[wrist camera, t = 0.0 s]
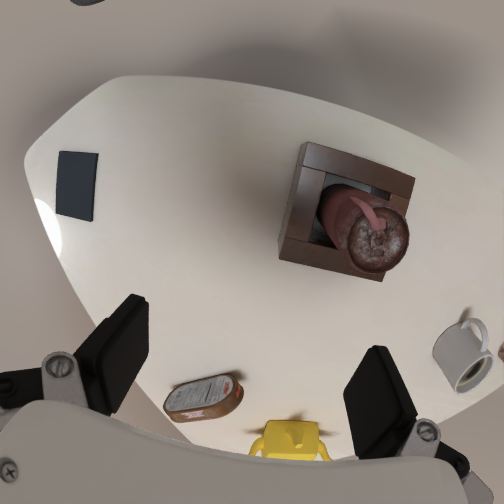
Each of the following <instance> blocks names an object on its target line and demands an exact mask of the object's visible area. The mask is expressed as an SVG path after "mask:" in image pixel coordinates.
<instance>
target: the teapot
mask: <svg viewBox="0 0 504 504" xmlns="http://www.w3.org/2000/svg"><path fill="white" fill-rule="evenodd" d="M259 450H261V453H262V457H267V458H277V459H289V460H308V461H314V459H315V458H316V456H317V452H318V453H319V454H320V455H321V457H322V459H323V460H324V461H334V460H332V459H331V458H330V457H329V455H328V452H327V449H326V446H325V444H324V443H323V442H322V441H321V440H319V429H318V426H317V424H316V423H315V422H304V421H268V423H267V425H266V428H265V431H264V434H263V437H260V438H258V439H257V440H256V441H255V442H254V443H253V445H252V447H251V449H250V452H249V454H248V455H251V456H255V455H256V453H257V451H259Z"/></svg>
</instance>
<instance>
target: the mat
mask: <svg viewBox="0 0 504 504" xmlns="http://www.w3.org/2000/svg"><path fill="white" fill-rule="evenodd" d="M97 160H98V154H97V153H84V152H70V151H59V158H58V168H57V183H56V214H60V215H64V216H68V217H73V218H77V219H81V220H85V221H89V222H92V221H93V205H94V189H95V178H96V168H97Z"/></svg>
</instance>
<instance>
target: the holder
mask: <svg viewBox="0 0 504 504" xmlns="http://www.w3.org/2000/svg"><path fill="white" fill-rule="evenodd" d="M326 172H327V173H331V174H334V175H337V176H341V177H344V178H347V179H351V180H354V181H357V182H360V183H363V184H367V185H370V186H373V187H372V190H371V194H372V195H374V196H377V197H379V198H381V199H384V200H386V201H388V202H391V203H393V204H394V205H395V206H396V207H397V208H399V209H400V210H401V212H402V214H403V215H404V217H405V215H406V212H407V208H408V205H409V201H410V200H409V199H410V198H411V194H412V190H413V186H414V183H415V178H414V177H412V176H410V175H407V174H405V173H402V172H400V171H397V170H394V169H392V168H389V167H387V166H384V165H381V164H378V163H376V162H373V161H370V160H367V159H364V158H361V157H358V156H355V155H352V154H349V153H346V152H343V151H339V150H336V149H333V148H329V147H326V146H322V145H319V144H315V143H312V142H306V143H304V144H302V145H301V149H300V153H299V157H298V162H297V166H296V170H295V174H294V178H293V183H292V187H291V191H290V195H289V199H288V203H287V207H286V211H285V215H284V220H283V224H282V228H281V231H280V235H279V239H278V253H279V259H280V260H285V261H289V262H294V263H298V264H303V265H307V266H312V267H316V268H320V269H325V270H329V271H334V272H338V273H343V274H347V275H352V276H356V277H361V278H365V279H369V280H374V281H378V282H382V281H383V278H384V276H385V273H386V272H384V273H379V274H368V273H364V272H359V271H357V270H356V269H354V268H353V267H351V266H350V265H349V264H348V263H347V261H346V260H345V259H344V257H343V256H342V254H341V253H340V251H339V250H338V248H337V247H336V245H335V244H334V242H333V241H332V240H331V238H330V237H329V235H328V234H325V233H321V232H317V231H313V230H312V226H313V222H314V219H315V215H316V211H317V208H318V204H319V200H320V196H321V192H322V188H323V184H324V180H325V176H326Z"/></svg>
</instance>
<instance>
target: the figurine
mask: <svg viewBox="0 0 504 504" xmlns="http://www.w3.org/2000/svg"><path fill="white" fill-rule="evenodd" d="M498 354H499V357H500V359H501V360H502V361H503V362H504V342H503V344H502V345H501V347H500V349H499V353H498Z"/></svg>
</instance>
